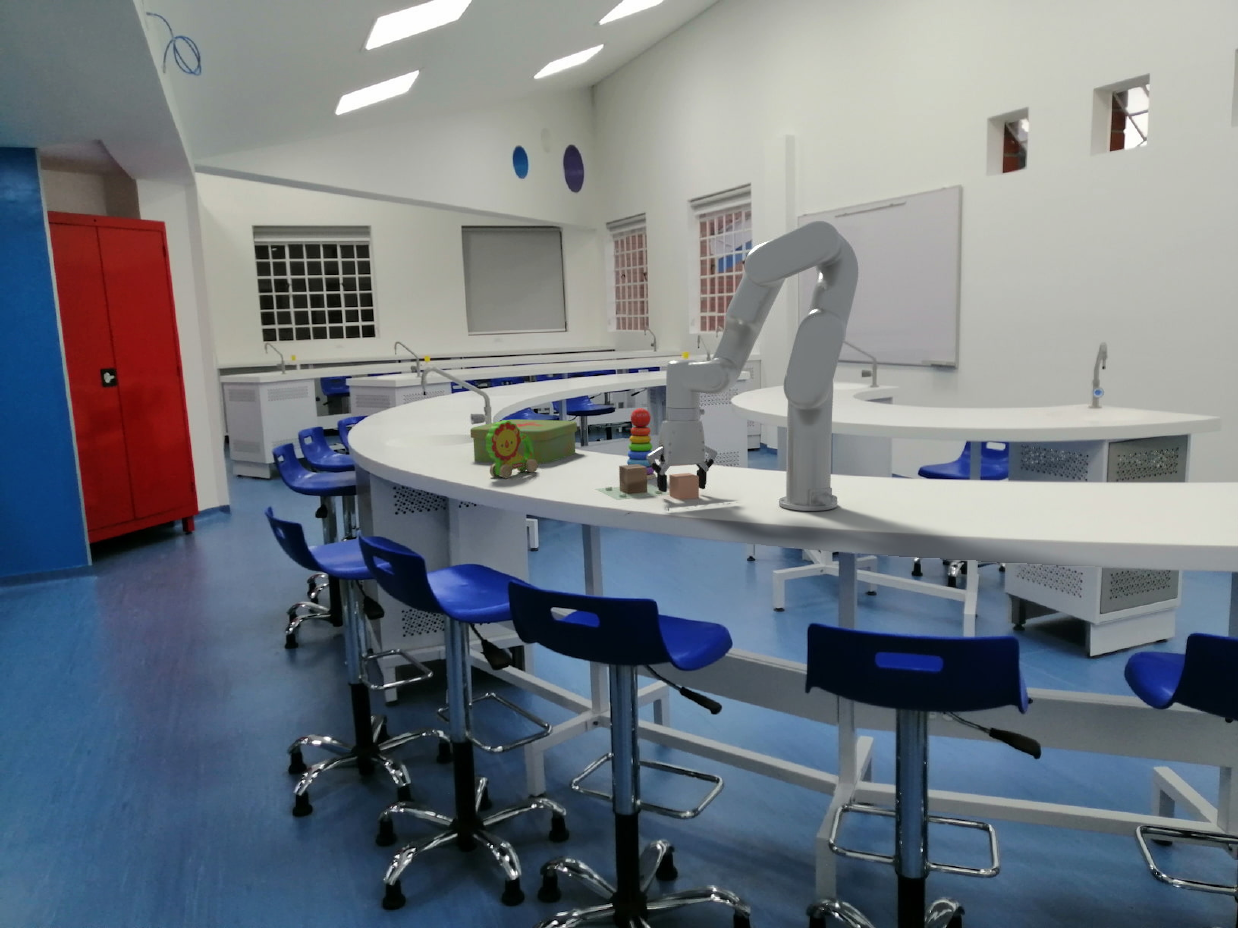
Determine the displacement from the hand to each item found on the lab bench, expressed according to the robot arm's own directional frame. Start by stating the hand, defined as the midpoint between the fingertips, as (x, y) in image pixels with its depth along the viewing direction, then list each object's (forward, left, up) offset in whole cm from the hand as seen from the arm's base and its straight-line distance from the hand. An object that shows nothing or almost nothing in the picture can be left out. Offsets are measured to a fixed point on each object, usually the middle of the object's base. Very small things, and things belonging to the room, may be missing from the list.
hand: (681, 489), depth 202 cm
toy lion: (+52, +27, -3) cm, 58 cm away
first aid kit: (+83, +14, -3) cm, 84 cm away
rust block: (0, 0, -3) cm, 3 cm away
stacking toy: (+28, -1, -3) cm, 28 cm away
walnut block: (+11, +8, -2) cm, 13 cm away
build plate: (+11, +8, -3) cm, 13 cm away
